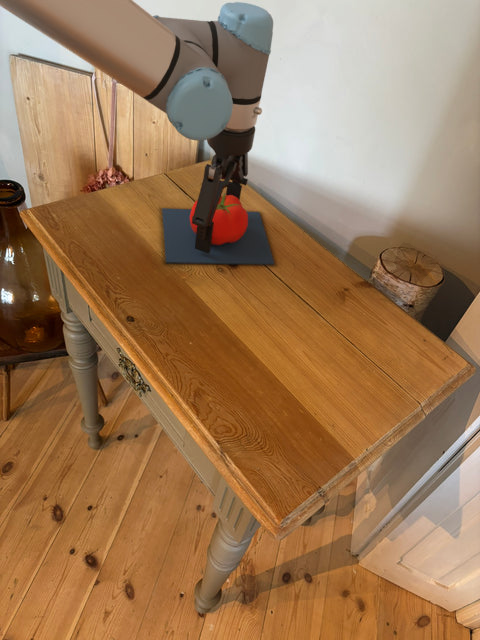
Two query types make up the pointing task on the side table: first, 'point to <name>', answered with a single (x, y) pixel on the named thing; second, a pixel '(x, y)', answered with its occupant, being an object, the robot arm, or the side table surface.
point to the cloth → (183, 239)
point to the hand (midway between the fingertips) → (216, 230)
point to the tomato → (226, 220)
